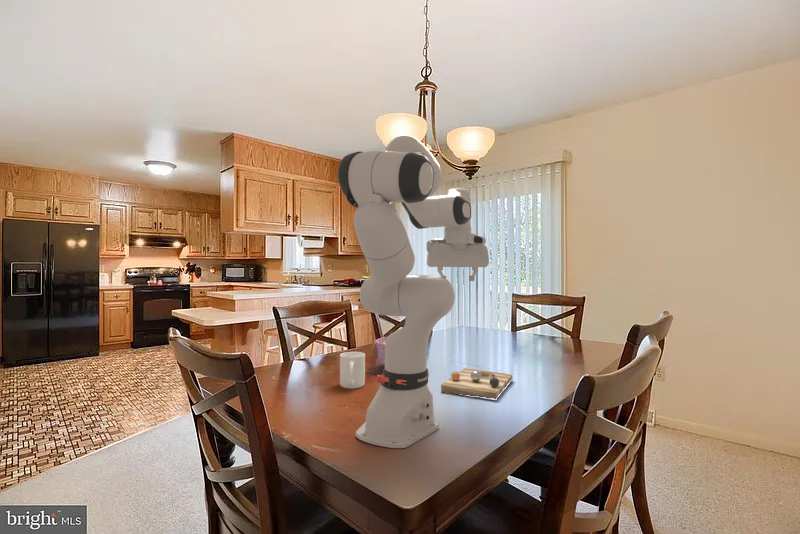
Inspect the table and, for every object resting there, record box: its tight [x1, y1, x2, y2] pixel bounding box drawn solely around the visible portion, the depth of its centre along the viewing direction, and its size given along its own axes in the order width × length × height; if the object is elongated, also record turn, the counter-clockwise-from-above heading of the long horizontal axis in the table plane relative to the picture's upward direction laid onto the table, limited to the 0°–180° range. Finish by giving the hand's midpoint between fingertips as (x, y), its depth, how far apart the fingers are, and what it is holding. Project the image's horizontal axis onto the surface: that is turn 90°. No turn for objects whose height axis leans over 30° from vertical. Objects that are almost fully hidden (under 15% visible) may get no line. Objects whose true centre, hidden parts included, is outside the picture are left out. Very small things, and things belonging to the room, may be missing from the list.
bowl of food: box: [375, 336, 388, 367], centre depth 159 cm, size 20×20×12 cm
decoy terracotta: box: [450, 370, 460, 380], centre depth 135 cm, size 3×3×3 cm
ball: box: [471, 371, 481, 382], centre depth 134 cm, size 4×4×4 cm
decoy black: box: [490, 377, 499, 387], centre depth 128 cm, size 3×3×3 cm
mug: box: [339, 351, 366, 390], centre depth 136 cm, size 9×12×11 cm
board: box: [440, 367, 513, 399], centre depth 137 cm, size 24×18×2 cm
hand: (457, 281), depth 130 cm, fingers open, 8 cm apart
